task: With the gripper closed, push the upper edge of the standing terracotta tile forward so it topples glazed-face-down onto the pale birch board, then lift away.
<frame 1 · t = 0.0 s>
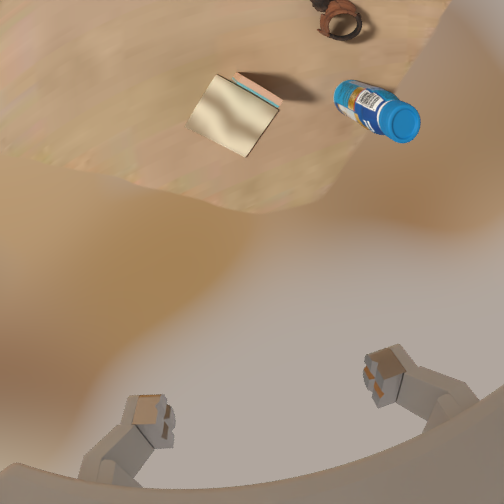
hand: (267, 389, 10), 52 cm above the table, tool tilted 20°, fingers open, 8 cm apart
birch board: (231, 116, 52), on the table
glazed tile: (252, 85, 48), on the table
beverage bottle: (349, 97, 52), on the table
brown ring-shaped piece: (326, 13, 40), on the table
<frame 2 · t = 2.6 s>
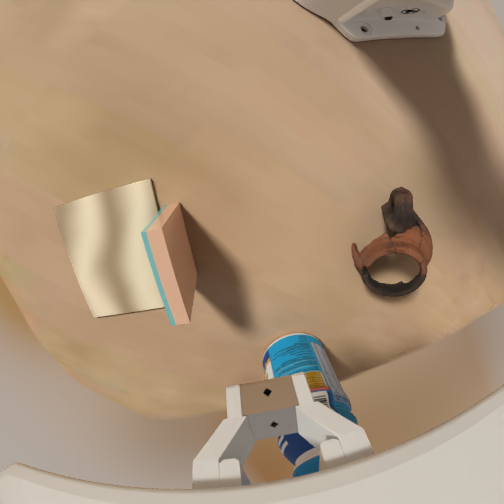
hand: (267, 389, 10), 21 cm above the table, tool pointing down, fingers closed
birch board: (116, 255, 29), on the table
glazed tile: (181, 241, 29), on the table
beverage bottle: (292, 354, 37), on the table
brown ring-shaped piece: (383, 230, 32), on the table
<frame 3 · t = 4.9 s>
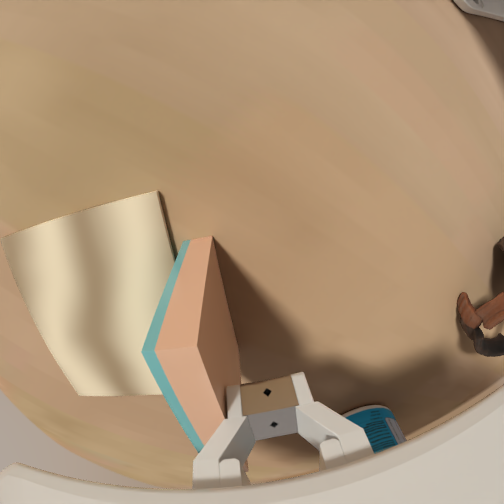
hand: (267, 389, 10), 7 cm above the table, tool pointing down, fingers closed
birch board: (102, 318, 17), on the table
glazed tile: (213, 301, 17), on the table, touching gripper
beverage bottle: (353, 426, 24), on the table
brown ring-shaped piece: (489, 270, 19), on the table
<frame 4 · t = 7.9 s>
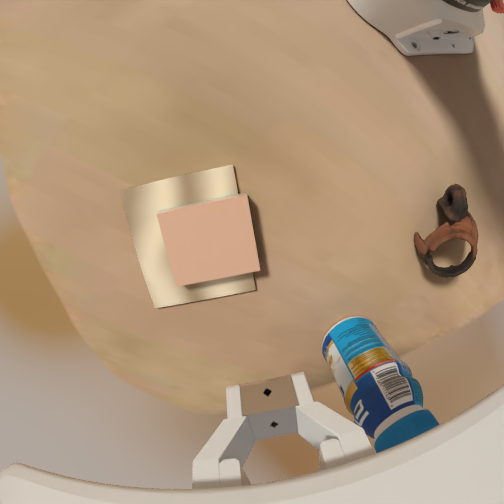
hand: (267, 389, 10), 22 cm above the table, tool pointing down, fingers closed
birch board: (189, 241, 31), on the table
glazed tile: (253, 232, 30), point 1 cm above the table, tilted 90°, touching birch board
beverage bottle: (347, 337, 38), on the table
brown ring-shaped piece: (436, 221, 34), on the table
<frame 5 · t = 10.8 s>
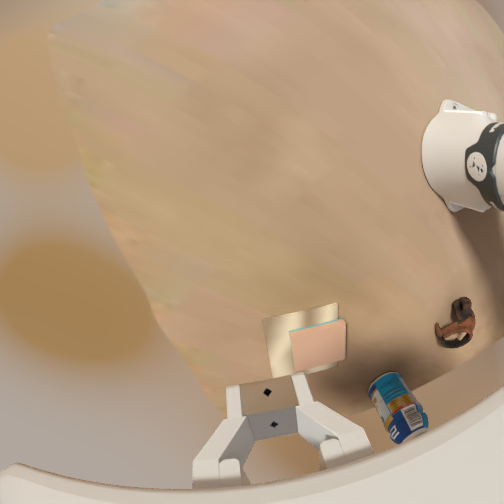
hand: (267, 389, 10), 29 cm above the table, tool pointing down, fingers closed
birch board: (303, 344, 47), on the table
glazed tile: (343, 339, 46), point 1 cm above the table, tilted 90°, touching birch board
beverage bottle: (383, 383, 54), on the table
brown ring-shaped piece: (450, 312, 49), on the table
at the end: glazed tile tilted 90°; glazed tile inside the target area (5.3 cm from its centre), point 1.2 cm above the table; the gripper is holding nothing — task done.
